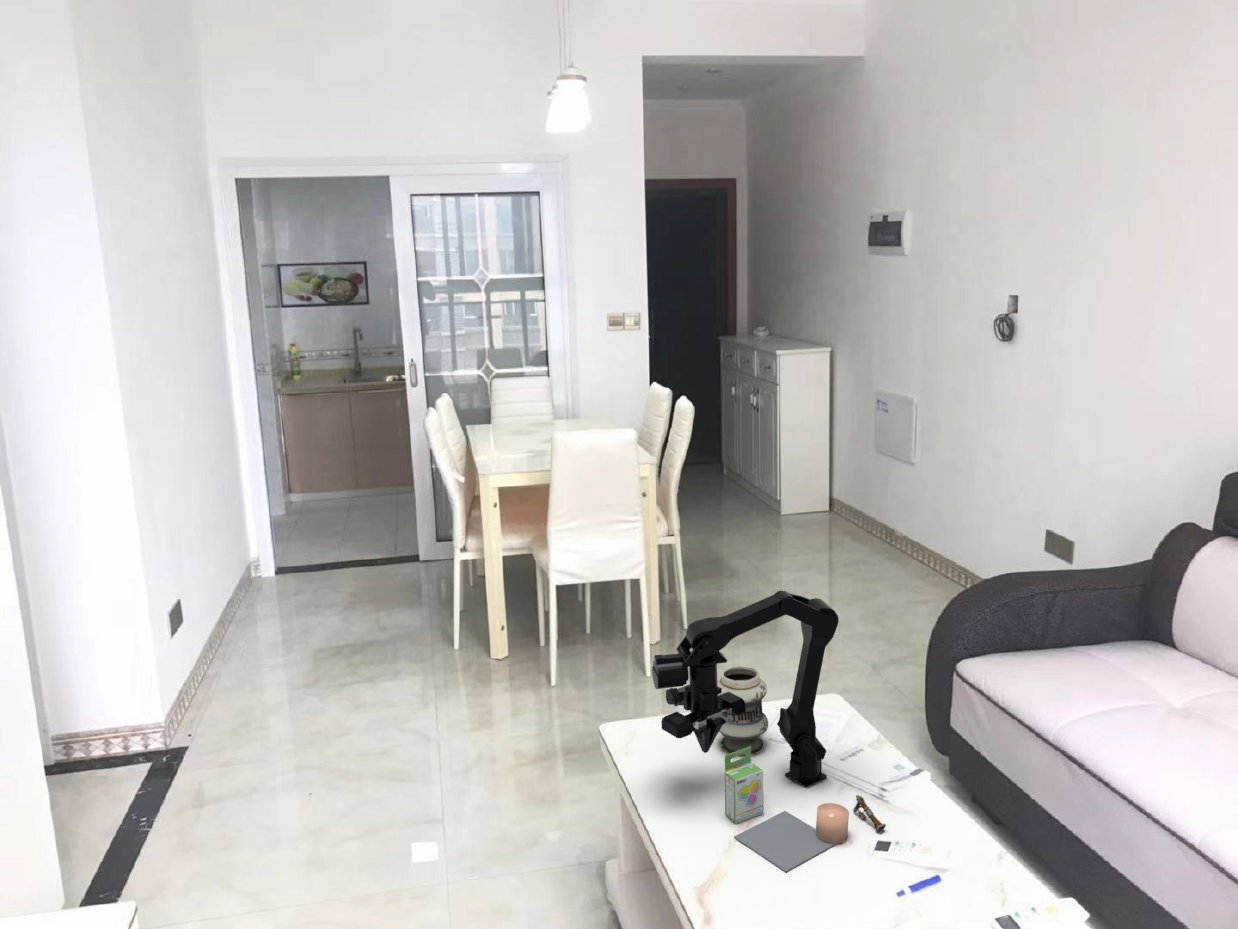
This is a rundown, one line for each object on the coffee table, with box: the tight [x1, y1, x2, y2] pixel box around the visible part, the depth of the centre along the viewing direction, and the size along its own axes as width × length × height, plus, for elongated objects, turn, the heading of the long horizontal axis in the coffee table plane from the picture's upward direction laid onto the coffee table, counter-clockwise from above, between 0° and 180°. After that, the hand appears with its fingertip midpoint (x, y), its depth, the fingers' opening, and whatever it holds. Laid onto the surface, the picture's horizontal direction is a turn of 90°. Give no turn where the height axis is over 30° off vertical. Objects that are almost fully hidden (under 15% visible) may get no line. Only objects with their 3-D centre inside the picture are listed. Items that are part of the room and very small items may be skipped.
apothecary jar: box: [717, 665, 769, 757], centre depth 222 cm, size 12×12×18 cm
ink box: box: [724, 746, 765, 825], centre depth 195 cm, size 7×4×13 cm, turn 120°
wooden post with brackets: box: [852, 794, 887, 833], centre depth 192 cm, size 2×8×4 cm, turn 27°
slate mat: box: [733, 810, 838, 874], centre depth 187 cm, size 14×14×1 cm
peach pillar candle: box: [815, 802, 850, 845], centre depth 188 cm, size 6×6×5 cm
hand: (705, 751), depth 204 cm, fingers closed
